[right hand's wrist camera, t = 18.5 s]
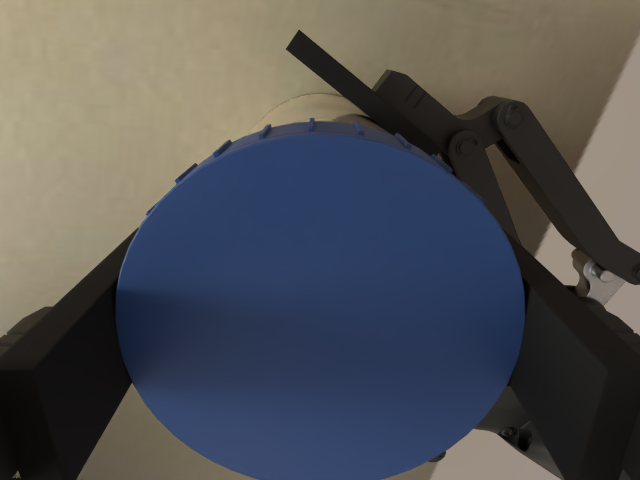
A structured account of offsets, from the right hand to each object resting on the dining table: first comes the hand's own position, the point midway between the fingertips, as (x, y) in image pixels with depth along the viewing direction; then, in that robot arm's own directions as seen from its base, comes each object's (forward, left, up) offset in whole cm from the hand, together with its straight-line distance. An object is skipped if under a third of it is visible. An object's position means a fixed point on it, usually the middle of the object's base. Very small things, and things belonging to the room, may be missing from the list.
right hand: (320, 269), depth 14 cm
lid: (0, 0, +3) cm, 3 cm away
